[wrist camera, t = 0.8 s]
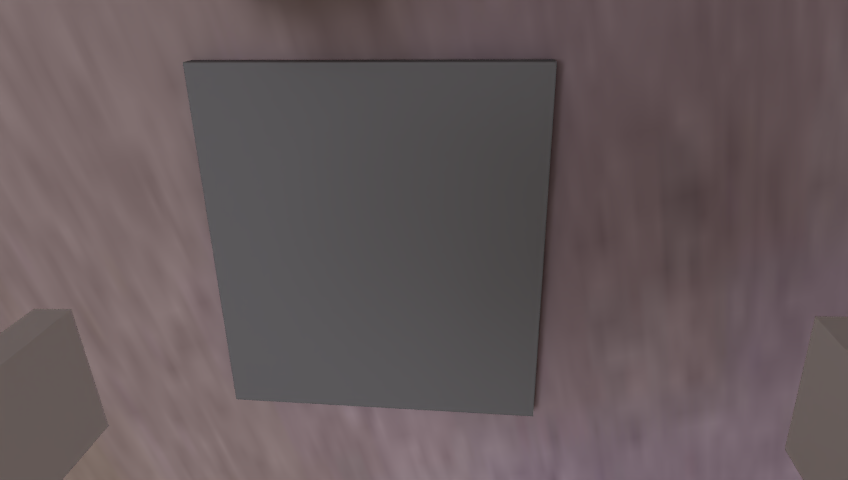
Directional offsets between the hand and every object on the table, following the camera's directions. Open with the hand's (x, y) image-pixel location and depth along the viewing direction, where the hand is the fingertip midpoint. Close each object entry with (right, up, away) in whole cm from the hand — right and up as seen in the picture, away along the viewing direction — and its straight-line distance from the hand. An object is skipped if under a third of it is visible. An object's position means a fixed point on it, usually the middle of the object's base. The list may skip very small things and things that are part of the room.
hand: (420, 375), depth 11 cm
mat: (-3, +3, +22) cm, 23 cm away
